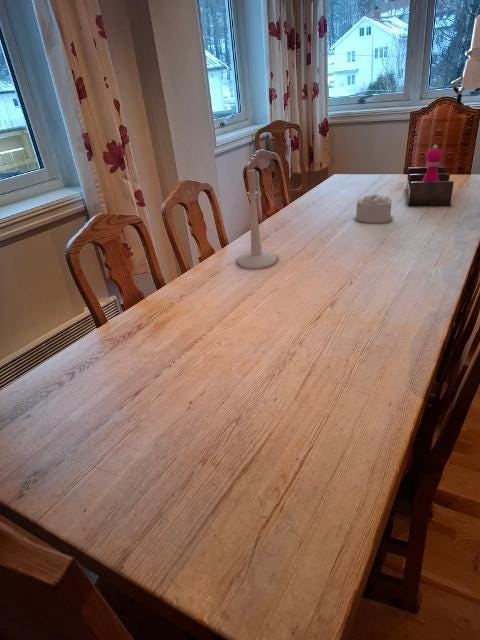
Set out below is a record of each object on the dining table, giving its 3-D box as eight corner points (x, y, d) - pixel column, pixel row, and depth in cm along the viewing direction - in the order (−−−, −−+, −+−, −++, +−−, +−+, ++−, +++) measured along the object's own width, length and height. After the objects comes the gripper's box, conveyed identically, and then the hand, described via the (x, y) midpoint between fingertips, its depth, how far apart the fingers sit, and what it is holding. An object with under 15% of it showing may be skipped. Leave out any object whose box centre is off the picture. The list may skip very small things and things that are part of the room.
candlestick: (271, 251, 151) (266, 162, 135) (280, 265, 140) (276, 170, 124) (235, 256, 149) (226, 167, 134) (241, 271, 138) (233, 175, 123)
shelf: (442, 188, 200) (446, 166, 195) (449, 206, 177) (453, 181, 172) (406, 189, 204) (408, 167, 199) (408, 206, 181) (411, 182, 176)
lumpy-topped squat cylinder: (389, 223, 165) (391, 200, 161) (355, 222, 169) (356, 200, 165) (389, 214, 174) (391, 193, 170) (356, 214, 178) (357, 193, 173)
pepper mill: (417, 196, 183) (423, 146, 173) (422, 191, 188) (428, 143, 178) (435, 197, 179) (443, 146, 169) (439, 193, 184) (447, 143, 174)
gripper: (456, 56, 159) (449, 107, 167) (509, 51, 154) (499, 104, 162) (454, 56, 165) (447, 105, 174) (504, 51, 160) (495, 102, 169)
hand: (472, 104), depth 168 cm, fingers open, 9 cm apart
